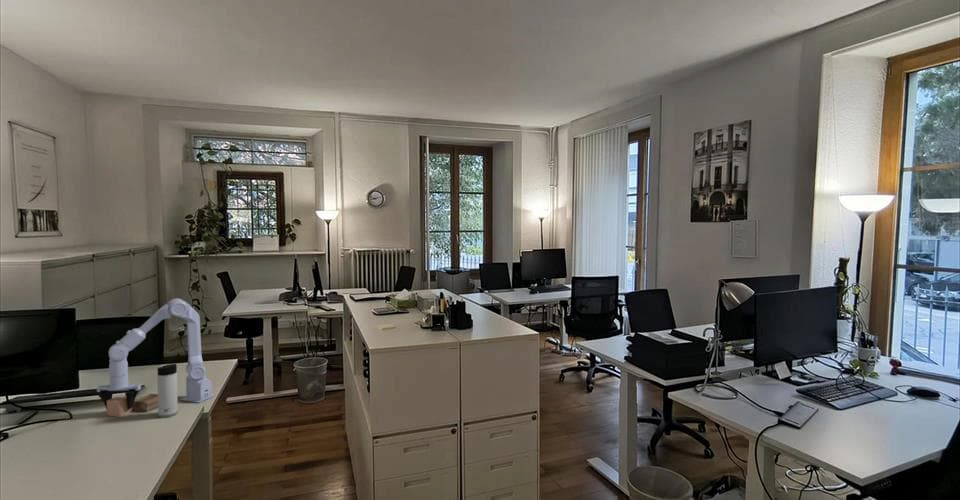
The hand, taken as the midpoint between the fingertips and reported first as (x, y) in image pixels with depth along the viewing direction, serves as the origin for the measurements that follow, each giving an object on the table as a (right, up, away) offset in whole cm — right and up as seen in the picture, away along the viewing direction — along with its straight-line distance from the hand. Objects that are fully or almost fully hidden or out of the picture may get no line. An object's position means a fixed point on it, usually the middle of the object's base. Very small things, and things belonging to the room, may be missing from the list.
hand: (119, 408), depth 177 cm
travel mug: (+20, -3, 0) cm, 20 cm away
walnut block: (+7, -2, +7) cm, 10 cm away
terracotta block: (0, -2, 0) cm, 2 cm away
